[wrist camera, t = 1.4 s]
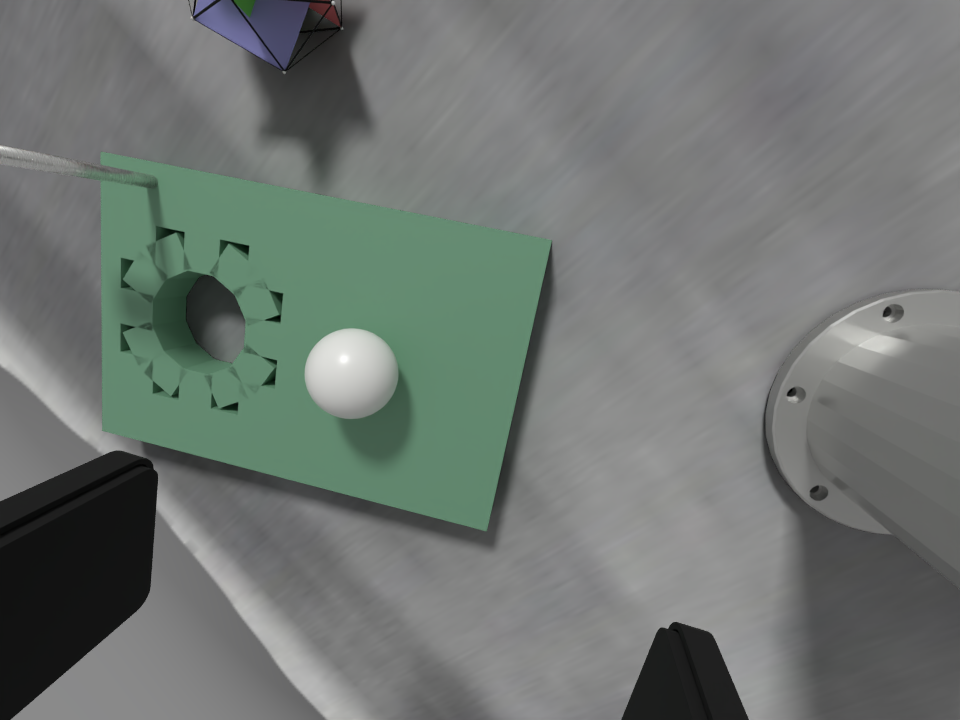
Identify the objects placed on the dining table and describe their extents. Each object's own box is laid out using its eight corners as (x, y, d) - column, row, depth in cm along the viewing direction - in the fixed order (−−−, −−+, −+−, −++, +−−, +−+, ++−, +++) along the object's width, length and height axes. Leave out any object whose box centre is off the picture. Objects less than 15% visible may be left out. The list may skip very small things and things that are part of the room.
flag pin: (193, 183, 27) (-7, 143, 17) (192, 195, 27) (-6, 163, 17) (137, 171, 27) (-90, 127, 18) (137, 184, 27) (-88, 147, 18)
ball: (415, 332, 24) (386, 348, 20) (402, 411, 25) (373, 442, 21) (335, 314, 25) (290, 327, 20) (326, 392, 26) (281, 420, 22)
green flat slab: (551, 241, 25) (551, 240, 22) (492, 508, 29) (486, 531, 26) (140, 160, 27) (100, 151, 25) (137, 416, 31) (102, 430, 29)
